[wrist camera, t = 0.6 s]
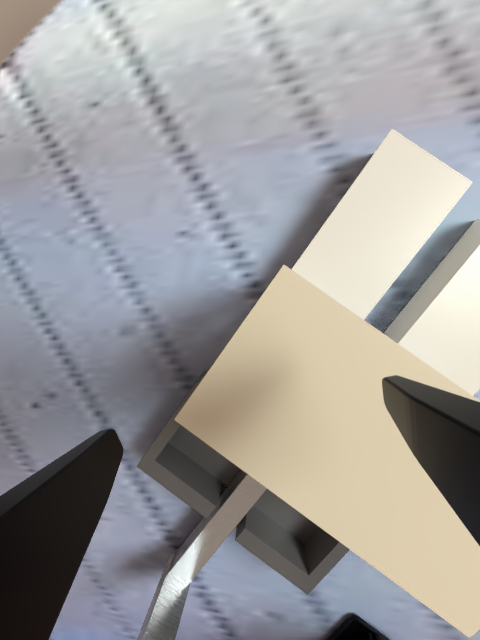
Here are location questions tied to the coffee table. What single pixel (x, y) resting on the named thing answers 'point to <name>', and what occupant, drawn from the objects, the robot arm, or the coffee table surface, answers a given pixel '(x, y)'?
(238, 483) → the slider
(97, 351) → the coffee table surface
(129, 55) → the coffee table surface
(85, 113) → the coffee table surface
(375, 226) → the track
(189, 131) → the coffee table surface
